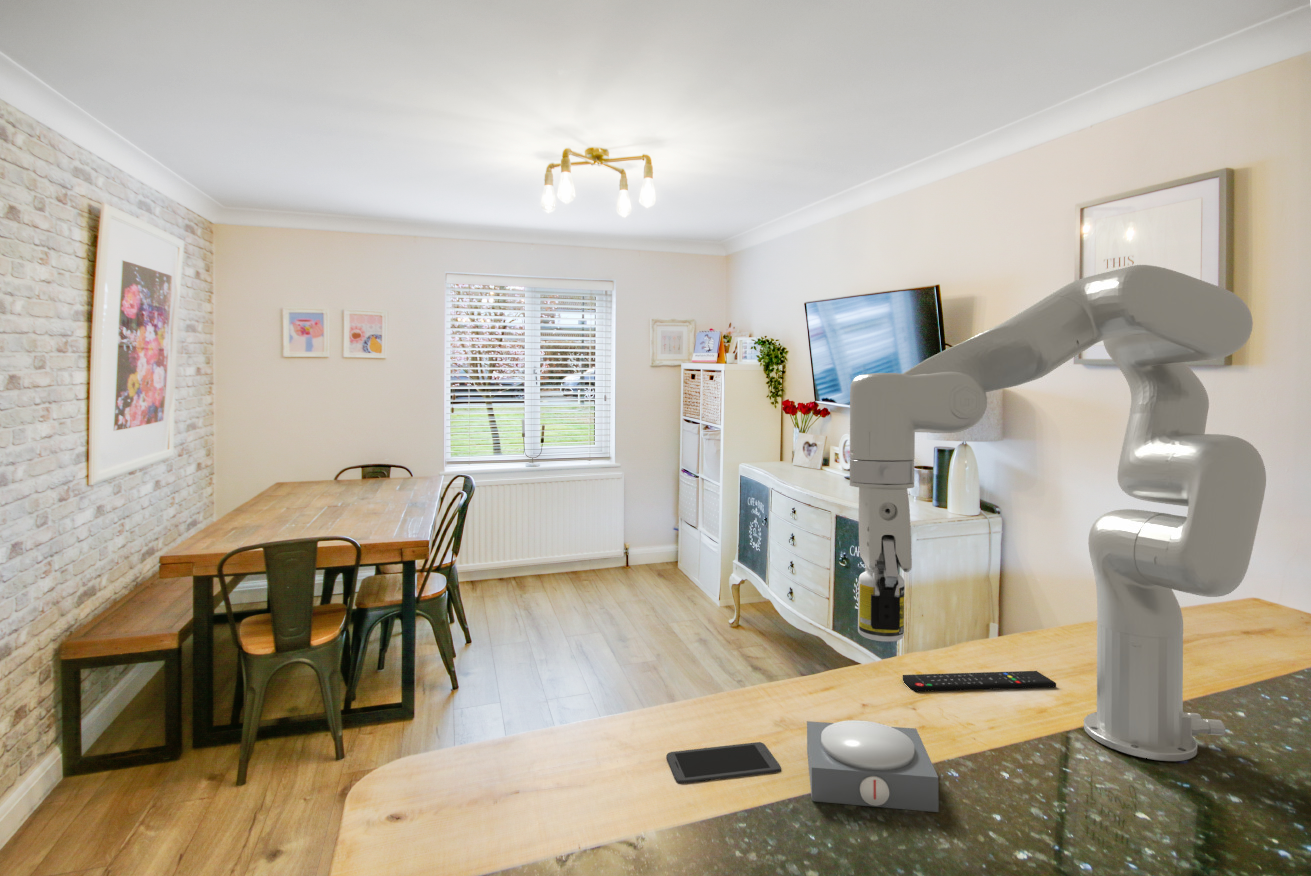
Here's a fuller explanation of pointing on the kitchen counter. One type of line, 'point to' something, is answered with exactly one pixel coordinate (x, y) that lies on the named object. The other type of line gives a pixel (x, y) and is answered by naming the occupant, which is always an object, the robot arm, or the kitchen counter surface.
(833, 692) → the kitchen counter surface
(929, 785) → the kitchen scale
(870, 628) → the supplement bottle
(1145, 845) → the kitchen counter surface
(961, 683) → the remote control
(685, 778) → the cell phone
